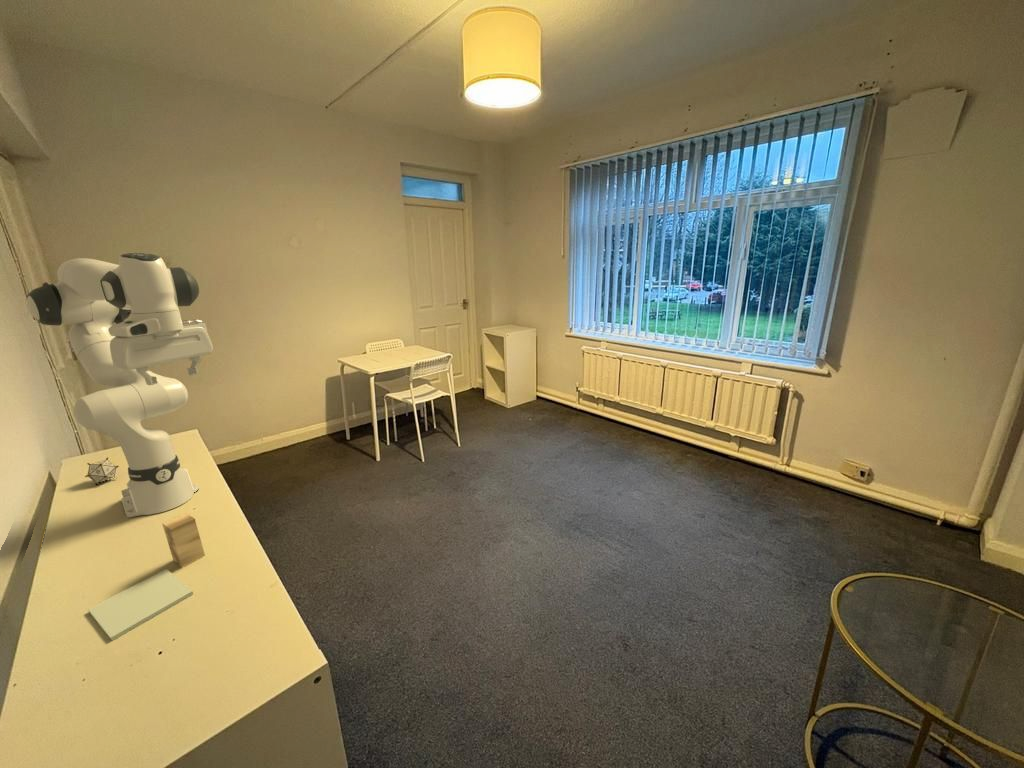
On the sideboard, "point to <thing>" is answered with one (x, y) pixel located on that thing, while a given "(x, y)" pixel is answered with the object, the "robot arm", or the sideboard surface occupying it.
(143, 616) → the sage mat
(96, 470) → the game die
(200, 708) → the sideboard surface
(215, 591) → the sideboard surface
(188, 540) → the maple block
